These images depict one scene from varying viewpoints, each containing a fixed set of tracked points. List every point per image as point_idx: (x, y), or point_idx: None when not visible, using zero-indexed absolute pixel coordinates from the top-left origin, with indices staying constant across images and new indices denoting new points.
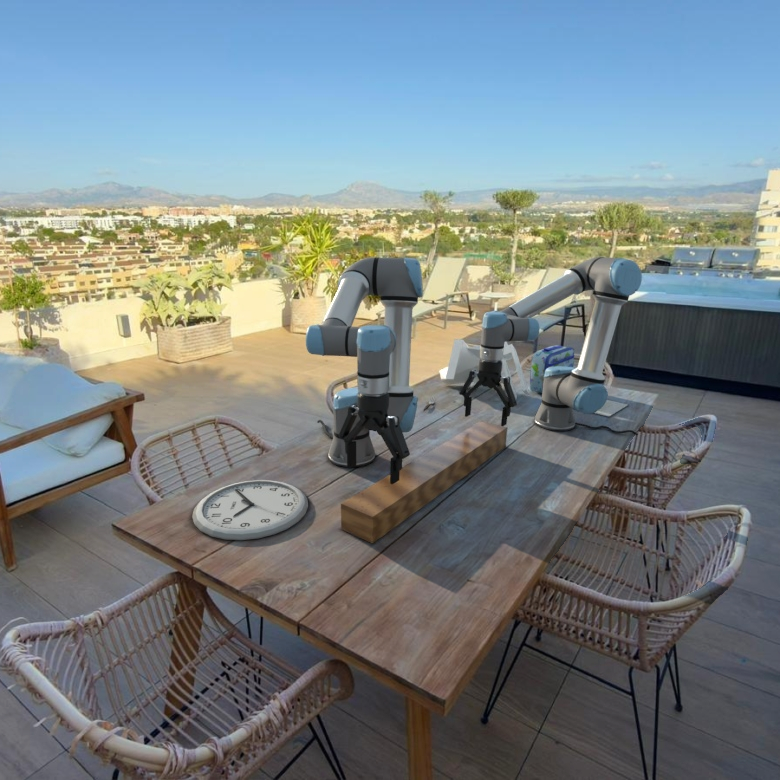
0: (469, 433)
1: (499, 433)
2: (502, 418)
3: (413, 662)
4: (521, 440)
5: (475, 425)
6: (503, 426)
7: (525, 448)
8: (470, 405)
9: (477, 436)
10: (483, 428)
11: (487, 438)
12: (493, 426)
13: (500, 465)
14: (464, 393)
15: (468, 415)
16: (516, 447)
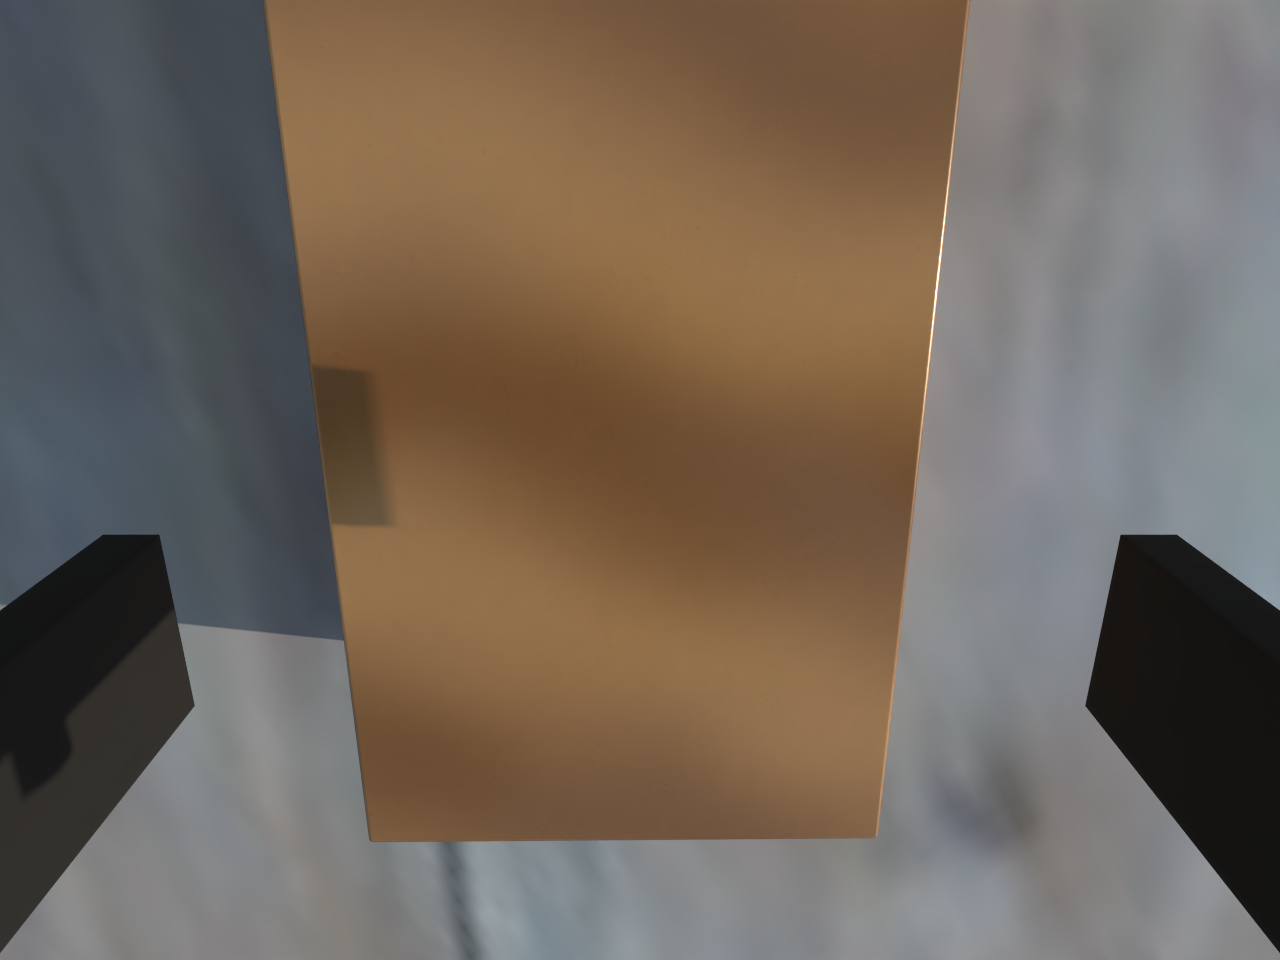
0: (783, 109)
1: (338, 549)
2: (10, 639)
3: None
4: (398, 907)
5: (869, 590)
6: (438, 835)
7: (237, 746)
8: (1255, 861)
9: (556, 61)
10: (673, 550)
11: (328, 101)
12: (572, 738)
13: (151, 46)
14: None
15: (1109, 624)
16: (332, 710)
